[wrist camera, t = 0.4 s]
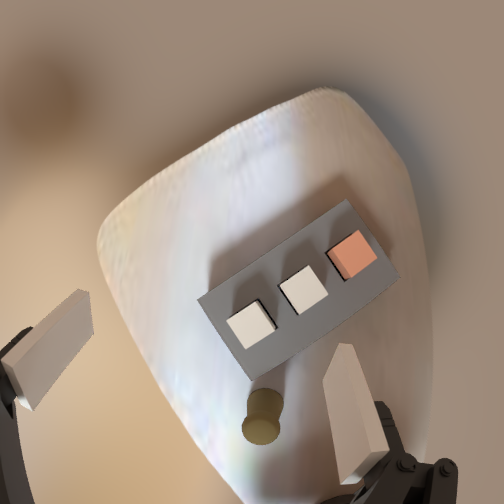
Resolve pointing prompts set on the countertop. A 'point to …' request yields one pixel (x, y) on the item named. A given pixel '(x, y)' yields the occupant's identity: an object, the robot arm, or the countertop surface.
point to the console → (265, 288)
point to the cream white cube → (304, 289)
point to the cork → (262, 416)
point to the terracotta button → (352, 255)
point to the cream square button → (251, 324)
